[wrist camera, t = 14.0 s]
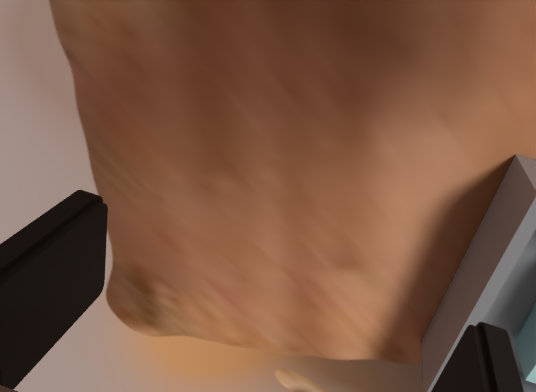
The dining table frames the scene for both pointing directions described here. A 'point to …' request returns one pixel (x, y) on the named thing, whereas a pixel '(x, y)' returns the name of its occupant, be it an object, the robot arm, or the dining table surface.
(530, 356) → the small crate
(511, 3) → the dining table surface
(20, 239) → the robot arm
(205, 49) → the dining table surface
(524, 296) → the large crate
